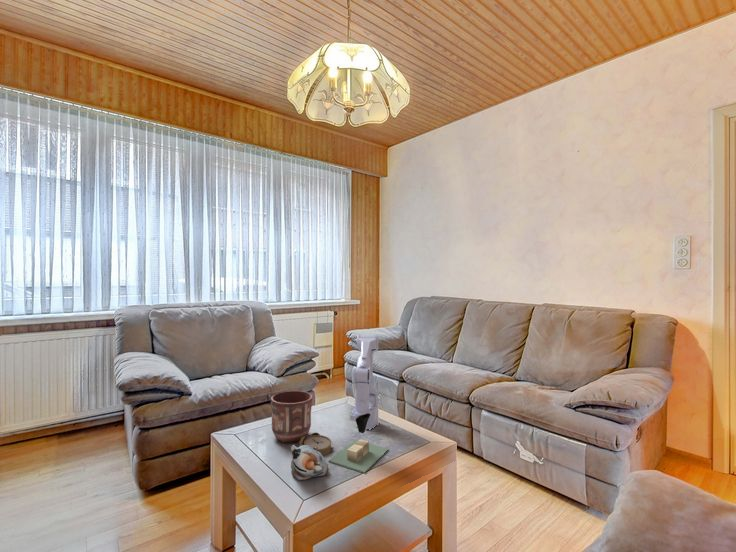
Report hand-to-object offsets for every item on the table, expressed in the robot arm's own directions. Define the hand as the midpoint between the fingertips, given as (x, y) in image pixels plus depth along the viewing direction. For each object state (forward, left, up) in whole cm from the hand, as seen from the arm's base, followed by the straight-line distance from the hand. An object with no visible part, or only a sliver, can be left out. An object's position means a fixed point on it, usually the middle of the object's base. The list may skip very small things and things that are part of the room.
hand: (361, 432), depth 144 cm
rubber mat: (+1, 0, -9) cm, 9 cm away
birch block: (-3, 0, -6) cm, 7 cm away
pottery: (+2, -34, -9) cm, 35 cm away
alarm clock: (+5, -19, -9) cm, 22 cm away
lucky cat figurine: (+22, -9, -9) cm, 25 cm away
